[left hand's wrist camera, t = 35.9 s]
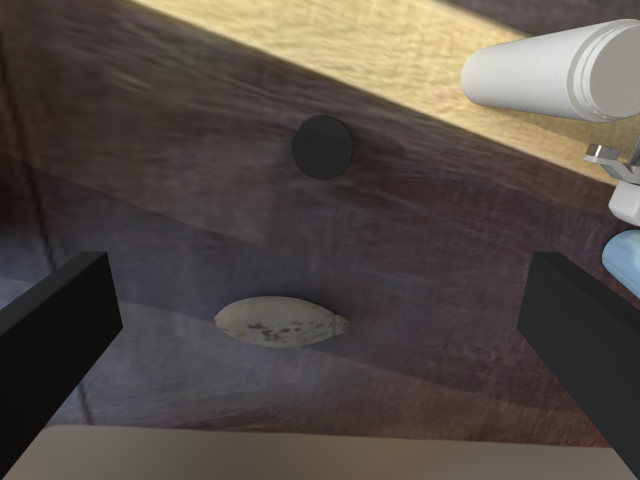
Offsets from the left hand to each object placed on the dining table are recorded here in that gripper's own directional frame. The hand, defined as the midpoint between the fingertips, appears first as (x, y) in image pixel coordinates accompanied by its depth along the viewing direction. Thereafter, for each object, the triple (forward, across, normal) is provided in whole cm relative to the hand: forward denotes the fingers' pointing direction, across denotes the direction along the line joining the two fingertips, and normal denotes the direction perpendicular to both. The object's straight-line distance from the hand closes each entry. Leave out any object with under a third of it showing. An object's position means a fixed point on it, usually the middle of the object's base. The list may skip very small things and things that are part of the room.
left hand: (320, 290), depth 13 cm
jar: (+30, +16, +6) cm, 35 cm away
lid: (+29, 0, 0) cm, 29 cm away
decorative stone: (+30, -4, -20) cm, 36 cm away
